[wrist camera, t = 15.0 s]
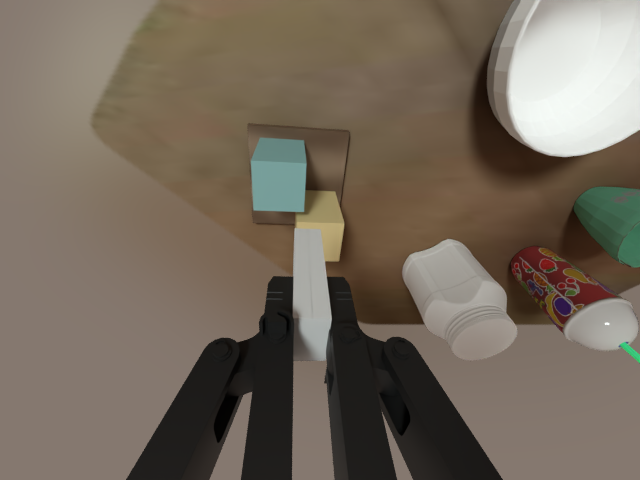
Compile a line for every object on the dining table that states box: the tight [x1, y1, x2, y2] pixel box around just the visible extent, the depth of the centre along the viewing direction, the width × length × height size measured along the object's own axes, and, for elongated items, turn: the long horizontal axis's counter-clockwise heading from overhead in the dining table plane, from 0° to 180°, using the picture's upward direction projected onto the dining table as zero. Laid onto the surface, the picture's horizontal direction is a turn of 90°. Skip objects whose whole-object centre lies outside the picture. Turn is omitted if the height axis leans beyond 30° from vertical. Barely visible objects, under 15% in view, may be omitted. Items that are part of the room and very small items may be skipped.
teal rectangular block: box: [251, 138, 307, 212], centre depth 32 cm, size 5×5×9 cm
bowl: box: [487, 0, 640, 157], centre depth 28 cm, size 19×19×9 cm
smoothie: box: [511, 246, 640, 363], centre depth 40 cm, size 8×8×20 cm
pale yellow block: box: [295, 190, 345, 261], centre depth 36 cm, size 5×5×9 cm
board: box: [248, 123, 350, 224], centre depth 37 cm, size 13×12×1 cm
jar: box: [402, 239, 517, 360], centre depth 42 cm, size 12×10×15 cm
